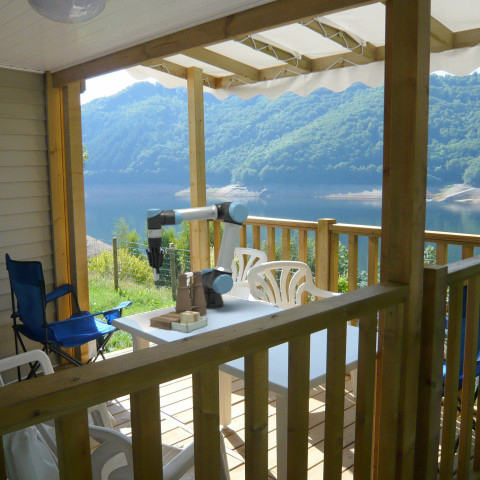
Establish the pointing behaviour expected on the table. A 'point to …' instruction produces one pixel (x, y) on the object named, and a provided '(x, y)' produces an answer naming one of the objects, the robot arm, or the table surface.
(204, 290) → the robot arm
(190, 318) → the block
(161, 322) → the board
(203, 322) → the tray
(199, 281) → the binoculars
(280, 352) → the table surface
